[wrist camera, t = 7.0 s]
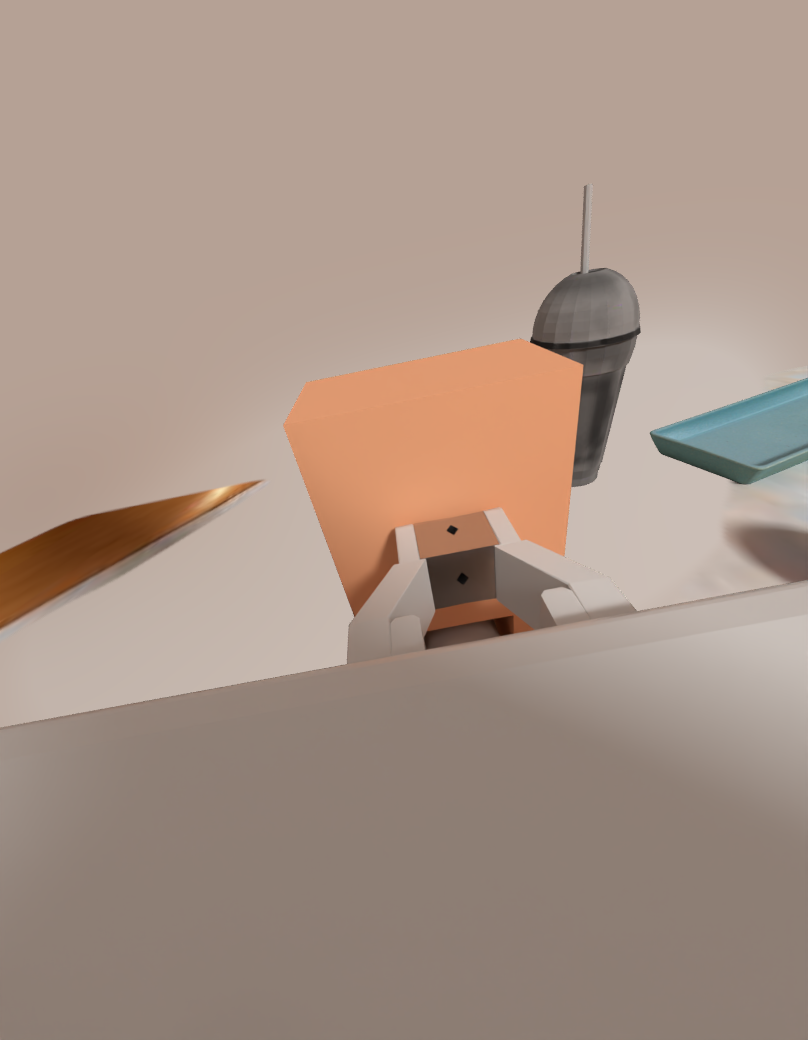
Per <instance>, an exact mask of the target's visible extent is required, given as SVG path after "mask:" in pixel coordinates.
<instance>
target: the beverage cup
mask: <svg viewBox="0 0 808 1040" xmlns="http://www.w3.org/2000/svg"><path fill="white" fill-rule="evenodd" d="M592 185H593V184H588V185H586V186H584V203H583V226H582V249H581V272H576V273H573V274H571V275H569V276H568V277H566V278H564V279H563V280H562V281H561V282H560V283H558V284H557V285H556V286H555V287H554V288H553V290H552V291H551V292H550V293H549V294H548V295H547V297H546V298H545V300H544V301H543V303H542V305H541V307H540V309H539V310H538V314H537V316H536V319H535V322H534V327H533V335H532V337H531V341H530V343H532V344H535V345H537V346H540V347H542V348H544V349H547V350H549V351H552V352H554V353H556V354H559V355H561V356H564V357H566V358H568V359H571V360H573V361H576V362H578V363H580V364H583V375H582V385H581V395H580V405H579V415H578V425H577V435H576V445H575V455H574V465H573V475H572V485H571V487H576V486H582V485H587V484H589V483H591V482H593V481H594V480H595V479H596V478H597V473H598V470H599V467H600V463H601V462H602V459H603V455H604V451H605V447H606V443H607V439H608V435H609V432H610V428H611V424H612V419H613V415H614V412H615V408H616V404H617V400H618V396H619V392H620V388H621V384H622V380H623V376H624V372H625V368H626V365H627V364H628V363H629V361H630V358H631V355H632V353H633V350H634V347H635V344H636V338H637V335H638V334H639V333H640V324H639V319H640V311H639V304H638V299H637V295H636V293H635V291H634V288H633V287H632V285H631V284H630V283H629V281H628V280H627V279H626V278H625V277H624V276H623V275H621V274H619V273H618V272H616V271H614V270H611V269H608V268H599V269H592V270H588V268H589V248H590V246H589V245H590V226H591V206H592Z"/></svg>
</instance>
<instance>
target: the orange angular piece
mask: <svg viewBox="0 0 808 1040" xmlns="http://www.w3.org/2000/svg"><path fill="white" fill-rule="evenodd" d="M582 375H583V364H580V363H578V362H576V361H573V360H571V359H568V358H566V357H564V356H561V355H559V354H556V353H554V352H552V351H549V350H547V349H544V348H542V347H540V346H537V345H535V344H532V343H530V342H528V341H525V340H523V339H516V340H511V341H506V342H502V343H496V344H492V345H487V346H482V347H477V348H472V349H467V350H463V351H458V352H452V353H447V354H443V355H438V356H433V357H428V358H423V359H419V360H413V361H408V362H404V363H398V364H394V365H389V366H384V367H379V368H374V369H369V370H364V371H359V372H355V373H350V374H345V375H340V376H335V377H330V378H325V379H320V380H315V381H310V382H306V384H305V386H304V388H303V389H302V391H301V393H300V395H299V397H298V399H297V401H296V402H295V404H294V406H293V408H292V410H291V412H290V414H289V416H288V417H287V419H286V421H285V423H284V428H285V432H286V434H287V437H288V440H289V442H290V445H291V447H292V450H293V453H294V456H295V458H296V461H297V464H298V466H299V469H300V472H301V474H302V477H303V480H304V483H305V485H306V488H307V491H308V493H309V496H310V499H311V501H312V504H313V506H314V509H315V512H316V515H317V517H318V520H319V523H320V525H321V528H322V531H323V533H324V536H325V539H326V542H327V544H328V547H329V550H330V552H331V554H332V558H333V560H334V563H335V566H336V568H337V571H338V574H339V576H340V579H341V582H342V585H343V587H344V590H345V593H346V595H347V598H348V601H349V603H350V606H351V608H352V611H353V614H354V617H355V616H356V615H357V613H358V612H359V611H360V609H361V608H362V607H363V605H364V604H365V603H366V601H367V600H368V599H369V597H370V596H371V595H372V593H373V592H374V591H375V589H376V588H377V587H378V585H379V584H380V583H381V581H382V580H383V579H384V577H385V576H386V574H387V573H388V572H389V570H390V569H391V568H392V566H393V565H395V564H399V561H398V552H397V543H396V535H395V527H399V526H404V525H409V524H415V523H421V522H426V521H432V520H438V519H444V518H452V517H457V516H461V515H466V514H471V513H476V512H481V511H484V510H488V509H493V508H497V507H500V508H502V509H503V511H504V512H505V514H506V516H507V517H508V519H509V521H510V522H511V524H512V526H513V528H514V529H515V531H516V533H517V534H518V536H519V538H520V539H521V541H522V540H528V541H531V542H533V543H535V544H537V545H540V546H542V547H544V548H546V549H548V550H551V551H553V552H555V553H557V554H559V555H562V556H564V554H565V544H566V534H567V524H568V514H569V504H570V495H571V485H572V475H573V465H574V455H575V445H576V435H577V425H578V415H579V405H580V395H581V385H582ZM413 527H414V525H413ZM414 532H415V531H414ZM415 537H416V536H415ZM416 542H417V541H416ZM490 619H494V621H495V624H496V627H497V629H498V632H499V635H500V636H504V635H509V634H515V633H520V632H525V631H531V630H534V629H533V628H532V627H530V626H529V625H528V624H527V623H525V622H524V621H523V620H522V619H520V618H519V617H518V616H517V615H515V614H514V613H513V612H512V611H510V610H509V609H508V608H506V607H505V606H504V605H503V604H501V603H500V602H499V601H498V600H497V598H495V599H489V600H482V601H476V602H470V603H464V604H459V605H454V606H450V607H445V608H440V609H436V610H435V613H434V616H433V618H432V620H431V622H430V625H429V627H428V629H427V631H432V630H437V629H442V628H448V627H453V626H458V625H464V624H469V623H474V622H480V621H485V620H490Z"/></svg>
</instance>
